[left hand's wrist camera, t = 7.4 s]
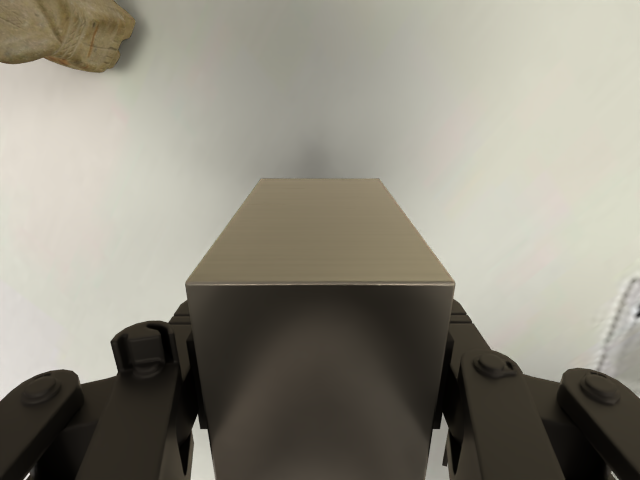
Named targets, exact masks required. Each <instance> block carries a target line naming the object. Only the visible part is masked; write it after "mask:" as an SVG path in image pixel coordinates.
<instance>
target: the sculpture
mask: <svg viewBox="0 0 640 480" xmlns="http://www.w3.org/2000/svg"><path fill="white" fill-rule="evenodd" d="M134 25H135V20H134V18H133V17H132V16H131V15H130V14H129V13H128V12H127V11H126V10H124V9H122V8H121V7H120V6H119V5H118V4H117V3H115V2H114V1H113V0H0V62H2V63H6V64H20V63H26V62H31V61H34V60H37V59H40V58H45V59H48V60H50V61H52V62H55V63H57V64H60V65H63V66H66V67H70V68H73V69H78V70H82V71H87V72H96V73H101V72H104V71H105V70H106V69H107V68H108V69H110V68H113V67H114V65H115V64H116V62H117V61H118V59H119V58H120V52H119V50H118V48H119V46H120V44H121V42H122V40H125V39H128V38H129V37H130V36H131V34H132V31H133V28H134Z"/></svg>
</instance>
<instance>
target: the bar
mask: <svg viewBox="0 0 640 480" xmlns="http://www.w3.org/2000/svg"><path fill="white" fill-rule="evenodd" d="M185 286H186V293H187V299H188V306H189V312H190V318H191V325H192V331H193V338H194V344H195V351H196V357H197V364H198V370H199V377H200V383H201V389H202V396H203V402H204V409H205V415H206V422H207V428H208V435H209V441H210V448H211V454H212V460H213V467H214V473H215V480H425V476H426V469H427V463H428V456H429V450H430V444H431V437H432V431H433V424H434V418H435V412H436V405H437V399H438V392H439V386H440V379H441V373H442V367H443V360H444V354H445V347H446V341H447V334H448V328H449V322H450V315H451V309H452V302H453V296H454V289H455V281H454V280H453V279H452V277H451V276H450V275H449V273H448V272H447V270H446V269H445V268H444V266H443V265H442V264H441V262H440V261H439V260H438V258H437V257H436V255H435V254H434V253H433V251H432V250H431V249H430V247H429V246H428V245H427V243H426V242H425V240H424V239H423V238H422V236H421V235H420V234H419V232H418V231H417V230H416V228H415V227H414V225H413V224H412V223H411V221H410V220H409V219H408V217H407V216H406V215H405V213H404V212H403V210H402V209H401V208H400V206H399V205H398V204H397V202H396V201H395V200H394V198H393V197H392V195H391V194H390V193H389V191H388V190H387V189H386V187H385V186H384V185H383V183H382V182H381V180H380V179H260V181H259V182H258V183H257V185H256V186H255V188H254V189H253V190H252V192H251V193H250V194H249V196H248V197H247V199H246V200H245V201H244V203H243V204H242V205H241V207H240V208H239V209H238V211H237V212H236V214H235V215H234V216H233V218H232V219H231V220H230V222H229V223H228V225H227V226H226V227H225V229H224V230H223V231H222V233H221V234H220V235H219V237H218V238H217V240H216V241H215V242H214V244H213V245H212V246H211V248H210V249H209V251H208V252H207V253H206V255H205V256H204V257H203V259H202V260H201V261H200V263H199V264H198V266H197V267H196V268H195V270H194V271H193V272H192V274H191V275H190V277H189V278H188V279H187V281H186V283H185Z"/></svg>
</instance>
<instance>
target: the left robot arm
mask: <svg viewBox="0 0 640 480" xmlns="http://www.w3.org/2000/svg"><path fill="white" fill-rule="evenodd" d="M111 346H112V350H113V354H114V358H115V362H116V365H117V369H118V373H117V376H114V377H111V378H107V379H103V380H98V381H94V382H89V383H84V384H80V381H79V378H78V375H77V374H75V373H74V372H73V371H70V370H64V369H62V370H54V371H48V372H45V373H42V374H39V375H36V376H34V377H32V378H30V379H28V380H26V381H24V382H23V383H21V384H20V385H19V386H17V387H16V388H15V389H13V390H12V391H11V392H10V393H9V394H8V395H7V396H5V397H4V398H3V399H2V400H1V401H0V480H23V479H24V478H25V477H26V476H27V474H28V473H29V472H30V475H29V477H28V478H27V479H26V480H190V478H191V468H192V458H193V448H194V441H193V435H192V427H193V425H194V422H195V419H196V417H197V414H198V417H199V423H200V429H208V428H207V422H206V415H205V409H204V402H203V396H202V389H201V383H200V377H199V370H198V364H197V357H196V351H195V344H194V338H193V331H192V325H191V318H190V312H189V306H188V300H186V301H185V302H184V303H182V304H181V305H180V306H179V308H178V309H177V311H176V312H175V314H174V316H173V317H172V318H171V320H170V321H169V323H167V322H163V321H146V322H141V323H137V324H134V325H132V326H130V327H127V328H125V329H124V330H122V331H121V332H119V333H118V334H116V335H115V337H114V338H113V339H112V340H111ZM442 413H443V414H444V417H445V420H446V422H447V425H448V427H449V429H448V435H447V440H446V446H445V452H444V457H443V464H442V466H447V464H448V467H449V477H450V480H616V479H615V478H614V477H613V476H612V474H611V471H613V473H614V474H615V475H616V476H617V478H618V479H619V480H640V399H639V398H638V397H637V396H636V395H635V394H634V393H633V392H632V391H631V390H630V389H628V388H627V387H626V386H624V385H623V384H622V383H620V382H619V381H618V380H616V379H614V378H612V377H610V376H608V375H606V374H603V373H601V372H597V371H594V370H591V369H583V368H574V369H568V370H567V371H566V372H565V373H563V375H562V379H561V382H560V383H558V382H554V381H549V380H544V379H540V378H535V377H531V376H528V375H524V374H523V373H522V371H521V369H520V368H519V366H518V365H517V363H515V362H514V361H513V360H511V359H510V358H509V357H507V356H505V355H503V354H501V353H499V352H497V351H493V350H491V349H490V347H489V346H488V344H487V343H486V341H485V340H484V338H483V337H482V335H481V334H480V332H479V331H478V330H477V328H476V327H475V325H474V324H472V321H471V319H470V318H469V316H468V315H466V312H465V310H464V309H463V307H462V306H461V305H460V303H458V302H457V301H456V300H454V299H453V302H452V309H451V315H450V322H449V328H448V334H447V341H446V347H445V354H444V360H443V367H442V373H441V379H440V386H439V392H438V399H437V405H436V412H435V418H434V424H433V429H440V425H441V419H442Z"/></svg>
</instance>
